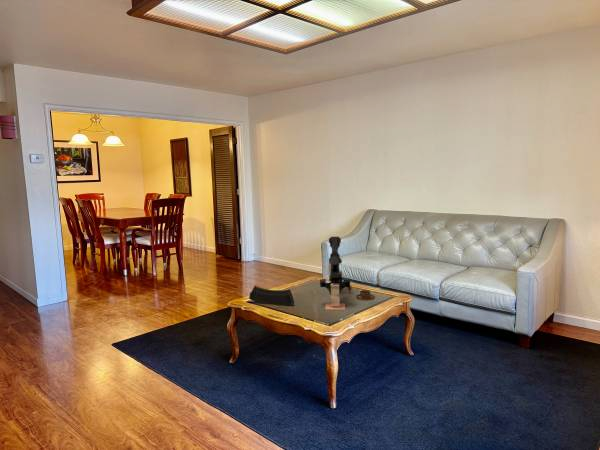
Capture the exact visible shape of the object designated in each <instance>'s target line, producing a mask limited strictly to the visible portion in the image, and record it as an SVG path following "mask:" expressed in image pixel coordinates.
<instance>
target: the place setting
mask: <svg viewBox="0 0 600 450" xmlns="http://www.w3.org/2000/svg"><path fill="white" fill-rule="evenodd" d="M347 290H348V294H350V295H351V290H352V285H350V287H347ZM350 295H349V297H352V295H351V296H350ZM374 295H375V294H371V291H370V290H367V289H362V290H360V291H359V294H357V295H355V297H356V299H357V300H360V301H371V300H374V299H375V297H374ZM371 296H372V297H371Z"/></svg>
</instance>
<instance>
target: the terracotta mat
mask: <svg viewBox="0 0 600 450" xmlns="http://www.w3.org/2000/svg"><path fill="white" fill-rule="evenodd" d="M325 310H326V311H346V304H345V303H339V306H331V302H330V303H325Z"/></svg>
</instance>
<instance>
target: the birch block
mask: <svg viewBox="0 0 600 450" xmlns="http://www.w3.org/2000/svg"><path fill="white" fill-rule="evenodd" d="M330 303H331V306H339V304H340V295H339V284H333V283H331V295H330Z"/></svg>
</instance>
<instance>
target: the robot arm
mask: <svg viewBox="0 0 600 450" xmlns="http://www.w3.org/2000/svg"><path fill="white" fill-rule="evenodd" d="M328 244H329V246H330V248H331V253H330V254H329V258H328V264H329V266H330V273H329V274H330V275H329V277H328V278H329V280H327V278H321V279H319V280H320V281H319V286H320V288H325V289H327V291H328V293H329V295H330V296H331V283H333V284H339V296H341V294H342V291H343V290H344V289H345V288H348V287H350V286H351V280H350V278H343V271H341V270H340V264H342V263H343V260H342V258H341V257H340V256H341V255H340V254H339V248H340V246H341V245H340V244H342V238H341V237H340V236H330V237H329V238H328Z"/></svg>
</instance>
